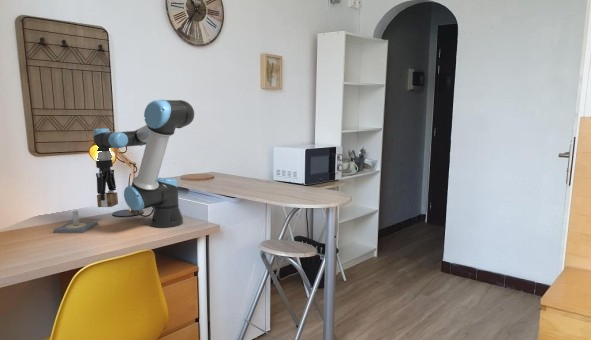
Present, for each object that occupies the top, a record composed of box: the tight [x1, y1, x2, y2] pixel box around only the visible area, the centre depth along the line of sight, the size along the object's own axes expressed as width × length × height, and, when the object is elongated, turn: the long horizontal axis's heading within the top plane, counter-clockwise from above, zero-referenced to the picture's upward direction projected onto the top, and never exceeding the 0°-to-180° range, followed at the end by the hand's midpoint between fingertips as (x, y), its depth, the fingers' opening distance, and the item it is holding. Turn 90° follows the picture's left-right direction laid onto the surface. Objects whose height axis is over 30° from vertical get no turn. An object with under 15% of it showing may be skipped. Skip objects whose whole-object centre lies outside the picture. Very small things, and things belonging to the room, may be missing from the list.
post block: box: [53, 210, 99, 234], centre depth 207 cm, size 14×14×8 cm
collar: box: [96, 191, 119, 208], centre depth 217 cm, size 7×7×6 cm
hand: (108, 204), depth 217 cm, fingers closed on collar, 7 cm apart
